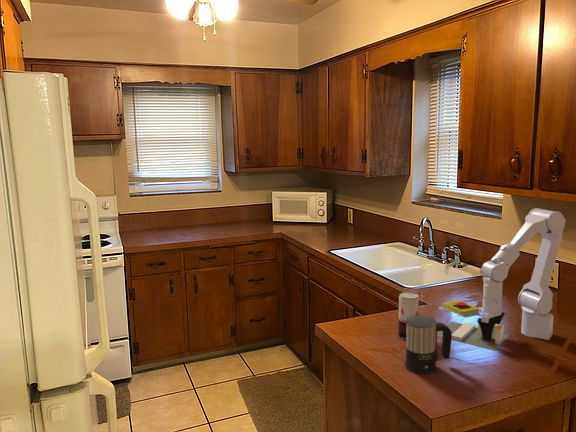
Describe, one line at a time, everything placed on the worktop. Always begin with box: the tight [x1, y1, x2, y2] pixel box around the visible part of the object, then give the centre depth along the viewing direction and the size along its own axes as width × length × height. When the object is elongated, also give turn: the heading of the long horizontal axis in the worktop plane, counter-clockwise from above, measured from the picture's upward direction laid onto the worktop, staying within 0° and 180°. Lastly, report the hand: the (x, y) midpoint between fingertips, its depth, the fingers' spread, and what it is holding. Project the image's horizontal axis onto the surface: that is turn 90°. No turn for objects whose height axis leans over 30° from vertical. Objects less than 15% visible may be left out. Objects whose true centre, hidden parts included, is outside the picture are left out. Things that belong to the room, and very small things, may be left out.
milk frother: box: [404, 314, 452, 375], centre depth 144 cm, size 14×16×15 cm
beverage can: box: [397, 291, 420, 340], centre depth 163 cm, size 6×6×15 cm
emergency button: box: [438, 299, 482, 317], centre depth 186 cm, size 9×4×15 cm
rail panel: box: [437, 321, 510, 352], centre depth 161 cm, size 20×16×2 cm
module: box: [477, 324, 505, 344], centre depth 157 cm, size 7×4×5 cm, turn 51°
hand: (490, 336), depth 157 cm, fingers open, 7 cm apart
